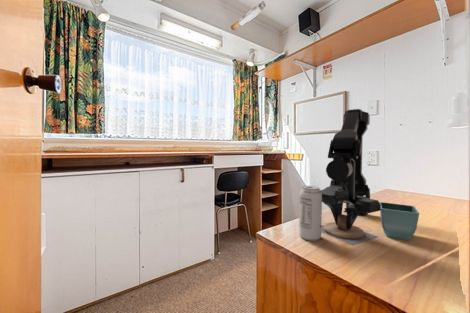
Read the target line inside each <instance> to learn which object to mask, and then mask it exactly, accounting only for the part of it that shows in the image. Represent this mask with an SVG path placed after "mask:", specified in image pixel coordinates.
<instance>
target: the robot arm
mask: <svg viewBox="0 0 470 313" xmlns="http://www.w3.org/2000/svg"><path fill="white" fill-rule="evenodd" d="M342 116H343V117H342V126H341V128H340V131H338V132H336V133H335V134H334V136H333V138H332V139H331V141H330V144H329V149H328V153H327V159H332V160H331V161H329V163H328V164H327V165H326V168H325V174H326V175H327V177H328V178H329V179H331V181H330V184H329V186H327V187H325V188H324V189H320V191H321V193H322V204H324V205H325V206H327V207H328V208H329V209H330V211H331V213H332V216H333V219H334V222H336V225H337V226H338V215H339V214H343V213H346V215H347V229H348V230H349V229H351V227H352V225H353V226H354V223H355V221H356V220H357V218H358V217H362V216H365V215H368V214H371V213H376V212H380V211H381V204H380V203H379V202H380V201H379V200H378V199H375V198H374V199H373V198H371V189H370V187H369V186H368V184H367V179H366V177H365V176H364V174H363V137H364V135H365V133H366V132H367V131H368V126H369V125H370V120H371V119H370V113H369V112H367V111H363V110H362V109H360V108H353V109H347V110H345V111H344V114H343V115H342ZM344 204H345V208H344V210H343V205H344Z"/></svg>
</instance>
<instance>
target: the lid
mask: <svg viewBox="0 0 470 313" xmlns="http://www.w3.org/2000/svg"><path fill="white" fill-rule="evenodd" d="M323 225H324V231H325V232H326V233H327V234H329V235H332V236H334V237H338V238H343V239H361V238H363V237H364V232H365V231H364V230H363V229H362V228H360V227H358V226H356V225H354V224H353V225H352V227H351V229H349V230H348V229H347V214H343V213H342V214H339V215H338V226H337V225H336V223H334V222H327V223H326V224H323ZM327 234H326V235H327ZM329 235H328V236H329ZM334 237H333V238H334Z"/></svg>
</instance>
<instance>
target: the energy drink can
mask: <svg viewBox="0 0 470 313" xmlns="http://www.w3.org/2000/svg"><path fill="white" fill-rule="evenodd" d="M320 188H321V187H319V186H316V185H303V186H301V190H300V191H299V220H298V221H299V224H298V225H299V236H300V237H301V239H302V240H306V241H309V242H310V241H311V242H315V241H319V240H320V239H321V238H322V232H321V226H322V219H323V218H322V213H323V212H322V207H323V206H322V205H323V202H322V193H321V191H320V190H321V189H320Z"/></svg>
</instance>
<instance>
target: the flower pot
mask: <svg viewBox="0 0 470 313" xmlns="http://www.w3.org/2000/svg"><path fill="white" fill-rule="evenodd" d="M379 203H380V204H381V211H379V213H380V223H381V227H382V230H383V232H384V234H385V236H386V237H388V238H394V239H399V240H405V241H410V240H411V239H412V238H413V236H414V235H415V233H416V231H417V227H418V223H419V216H420V212H419V210H418V209H417V208H416V206H415V205H409V204H408V205H407V204H402V203H401V204H400V203H393V202H392V203H391V202H384V201H379Z"/></svg>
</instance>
